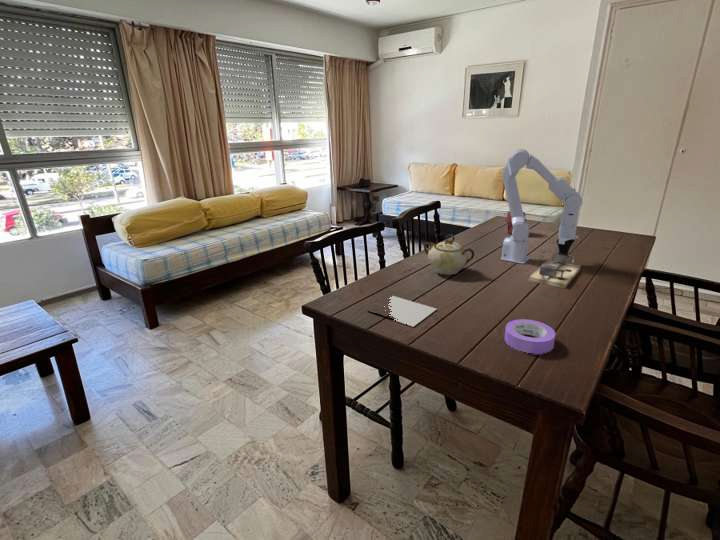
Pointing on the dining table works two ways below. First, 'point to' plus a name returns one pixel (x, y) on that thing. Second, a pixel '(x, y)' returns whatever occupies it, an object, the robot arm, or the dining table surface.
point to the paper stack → (408, 311)
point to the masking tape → (528, 343)
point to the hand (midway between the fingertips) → (562, 257)
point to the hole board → (554, 279)
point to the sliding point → (562, 257)
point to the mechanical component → (510, 222)
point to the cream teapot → (448, 256)
